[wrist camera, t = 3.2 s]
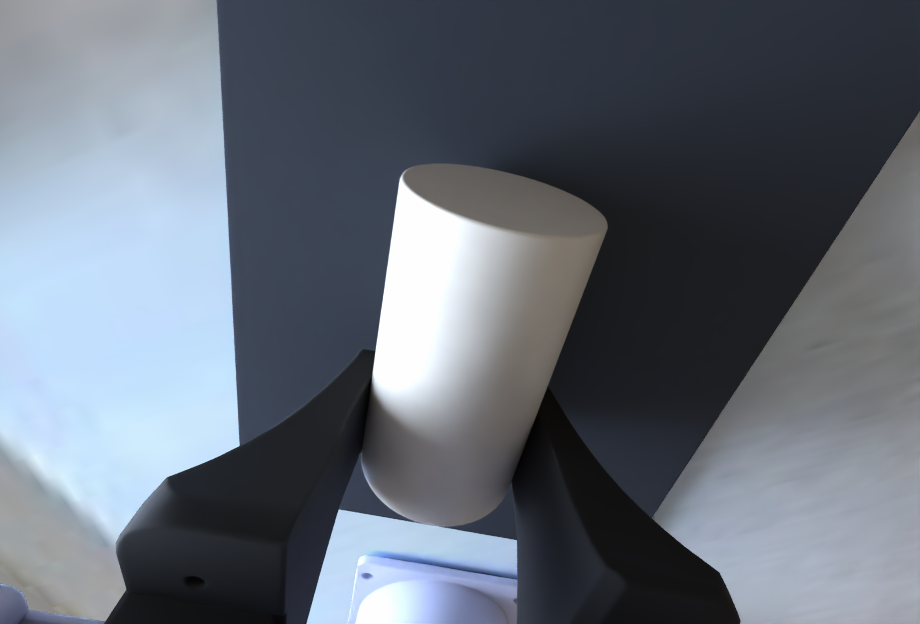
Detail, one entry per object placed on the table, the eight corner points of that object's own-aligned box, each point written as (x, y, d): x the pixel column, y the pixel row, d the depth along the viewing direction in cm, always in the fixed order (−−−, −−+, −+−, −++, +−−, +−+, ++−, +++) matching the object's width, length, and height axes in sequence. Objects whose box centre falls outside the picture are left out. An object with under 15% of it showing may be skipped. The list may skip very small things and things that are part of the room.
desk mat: (622, 550, 20) (625, 559, 20) (245, 484, 19) (241, 493, 19) (1058, -125, 9) (1080, -131, 9) (208, -366, 8) (195, -384, 8)
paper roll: (506, 423, 16) (513, 543, 12) (377, 398, 15) (342, 513, 12) (586, 189, 12) (635, 257, 8) (415, 151, 12) (381, 202, 8)
